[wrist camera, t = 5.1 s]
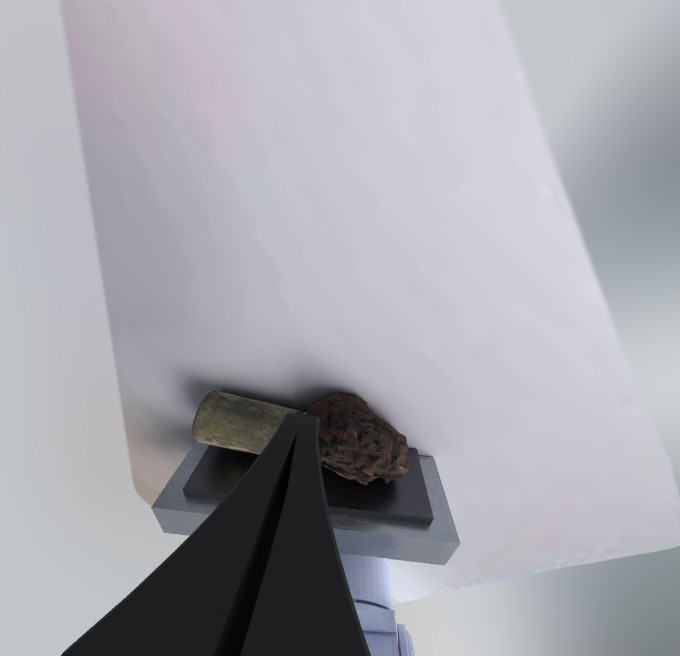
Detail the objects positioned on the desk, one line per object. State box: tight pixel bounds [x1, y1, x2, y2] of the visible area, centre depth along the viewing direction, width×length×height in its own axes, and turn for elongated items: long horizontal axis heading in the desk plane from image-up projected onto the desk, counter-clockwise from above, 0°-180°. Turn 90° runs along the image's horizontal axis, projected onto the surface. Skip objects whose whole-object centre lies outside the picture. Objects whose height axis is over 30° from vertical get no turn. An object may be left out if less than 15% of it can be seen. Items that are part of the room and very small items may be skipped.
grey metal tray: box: [151, 441, 460, 565], centre depth 22 cm, size 5×24×7 cm, turn 85°
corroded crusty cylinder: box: [192, 391, 409, 486], centre depth 20 cm, size 18×7×6 cm, turn 79°
